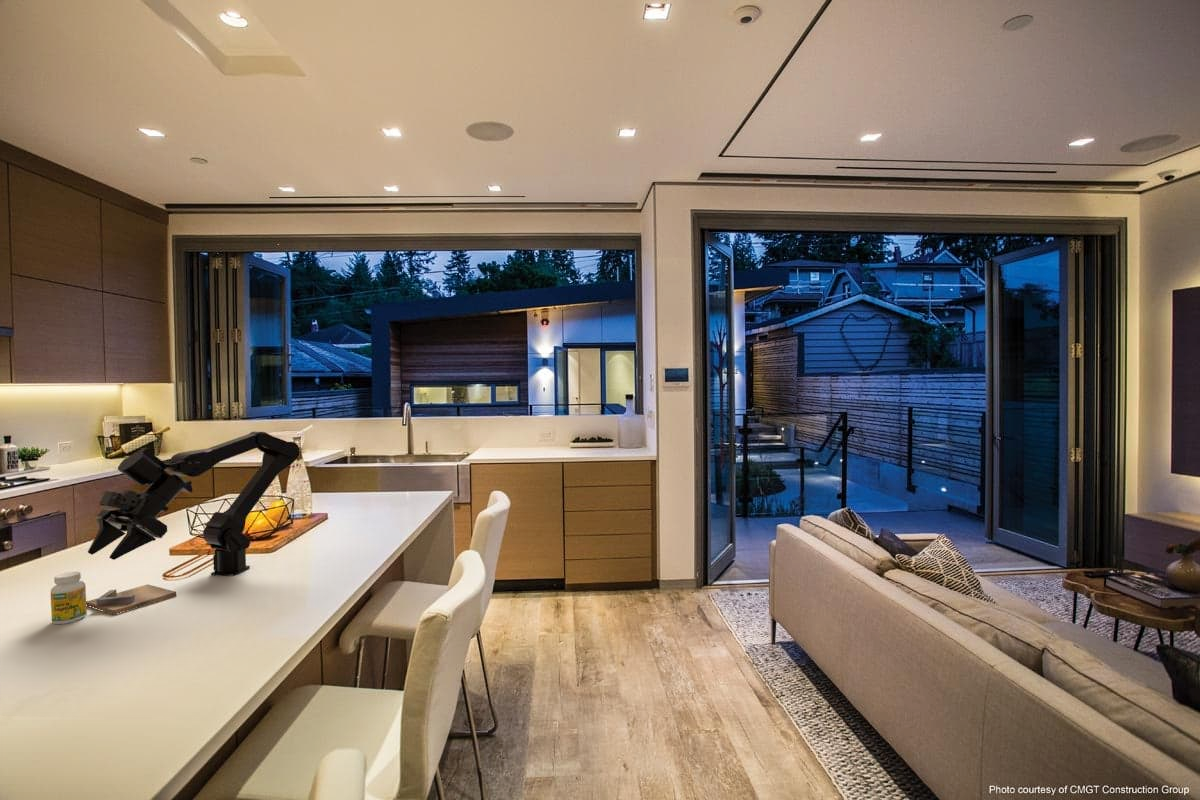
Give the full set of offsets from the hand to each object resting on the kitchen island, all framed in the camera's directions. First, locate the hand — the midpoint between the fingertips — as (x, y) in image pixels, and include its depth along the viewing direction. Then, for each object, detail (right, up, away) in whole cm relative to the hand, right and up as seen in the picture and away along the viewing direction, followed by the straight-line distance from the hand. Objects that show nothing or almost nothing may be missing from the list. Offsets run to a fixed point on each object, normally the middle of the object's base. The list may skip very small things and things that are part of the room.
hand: (100, 556), depth 123 cm
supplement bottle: (-2, -12, -5) cm, 13 cm away
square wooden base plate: (+2, -12, +5) cm, 13 cm away
